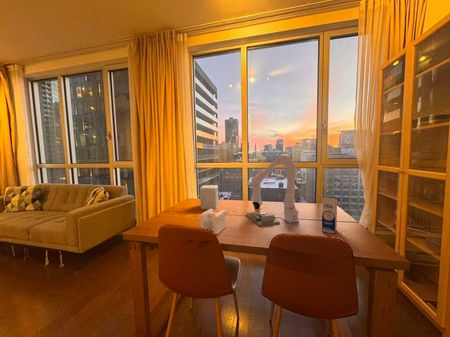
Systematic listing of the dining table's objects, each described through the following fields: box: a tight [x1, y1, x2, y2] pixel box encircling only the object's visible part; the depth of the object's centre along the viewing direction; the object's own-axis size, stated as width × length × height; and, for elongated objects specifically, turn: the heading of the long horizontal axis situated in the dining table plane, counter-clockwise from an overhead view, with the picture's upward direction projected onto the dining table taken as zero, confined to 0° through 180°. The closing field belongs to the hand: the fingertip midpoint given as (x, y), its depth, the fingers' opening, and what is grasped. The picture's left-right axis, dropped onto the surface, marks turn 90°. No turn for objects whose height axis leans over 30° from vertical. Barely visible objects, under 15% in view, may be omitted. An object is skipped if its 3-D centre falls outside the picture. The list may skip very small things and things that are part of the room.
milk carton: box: [321, 196, 338, 235], centre depth 121 cm, size 7×7×20 cm
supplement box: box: [199, 184, 220, 210], centre depth 179 cm, size 13×13×18 cm
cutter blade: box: [253, 207, 268, 216], centre depth 147 cm, size 9×5×4 cm, turn 15°
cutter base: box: [245, 211, 281, 227], centre depth 145 cm, size 24×14×6 cm, turn 15°
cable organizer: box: [200, 209, 228, 235], centre depth 127 cm, size 15×11×12 cm
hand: (256, 211), depth 153 cm, fingers closed
